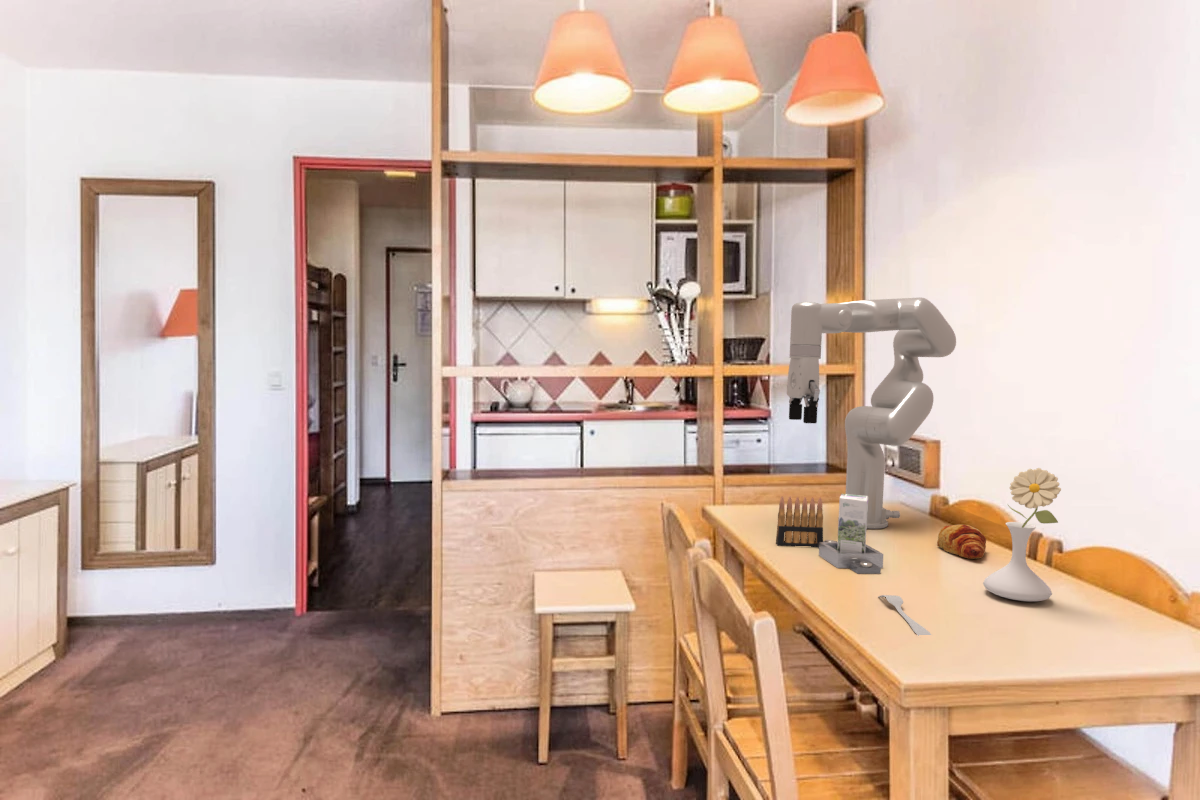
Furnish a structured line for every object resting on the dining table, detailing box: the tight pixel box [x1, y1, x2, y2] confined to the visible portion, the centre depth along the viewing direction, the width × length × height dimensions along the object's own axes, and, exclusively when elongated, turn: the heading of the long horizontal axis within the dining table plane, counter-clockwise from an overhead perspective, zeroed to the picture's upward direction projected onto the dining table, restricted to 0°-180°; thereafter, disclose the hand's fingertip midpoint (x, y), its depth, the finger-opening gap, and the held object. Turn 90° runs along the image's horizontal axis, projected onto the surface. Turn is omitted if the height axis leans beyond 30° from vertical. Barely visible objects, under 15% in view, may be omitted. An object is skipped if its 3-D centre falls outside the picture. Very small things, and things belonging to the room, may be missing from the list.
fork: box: [878, 594, 932, 637], centre depth 129 cm, size 3×21×3 cm, turn 178°
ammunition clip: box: [775, 496, 824, 548], centre depth 175 cm, size 11×2×12 cm, turn 87°
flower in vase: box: [982, 467, 1062, 602], centre depth 140 cm, size 13×11×25 cm
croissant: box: [936, 524, 987, 560], centre depth 175 cm, size 21×10×8 cm, turn 173°
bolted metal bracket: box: [816, 539, 884, 575], centre depth 165 cm, size 10×22×3 cm, turn 6°
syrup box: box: [837, 493, 868, 553], centre depth 162 cm, size 6×6×14 cm
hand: (802, 421), depth 187 cm, fingers open, 9 cm apart
